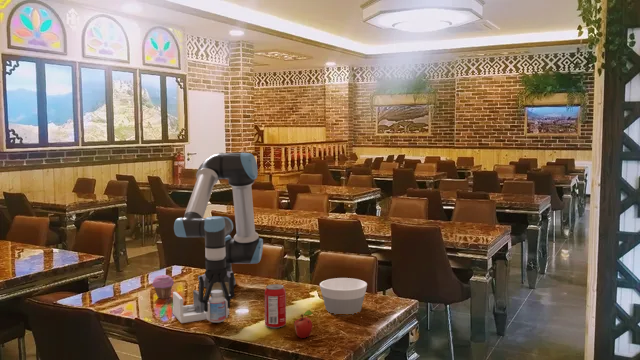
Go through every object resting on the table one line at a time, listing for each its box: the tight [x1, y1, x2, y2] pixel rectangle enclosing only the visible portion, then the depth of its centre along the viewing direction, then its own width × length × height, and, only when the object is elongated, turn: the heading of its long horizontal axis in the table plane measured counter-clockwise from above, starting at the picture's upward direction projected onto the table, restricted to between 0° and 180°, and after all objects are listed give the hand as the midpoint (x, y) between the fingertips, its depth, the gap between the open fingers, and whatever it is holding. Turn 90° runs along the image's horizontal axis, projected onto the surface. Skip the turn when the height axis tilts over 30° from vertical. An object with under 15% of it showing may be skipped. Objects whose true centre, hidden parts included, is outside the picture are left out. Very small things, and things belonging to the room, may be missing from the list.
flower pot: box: [211, 282, 230, 299], centre depth 246 cm, size 10×10×7 cm
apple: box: [293, 310, 313, 339], centre depth 201 cm, size 8×7×10 cm
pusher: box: [187, 289, 204, 313], centre depth 227 cm, size 5×10×8 cm, turn 28°
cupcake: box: [152, 274, 175, 299], centre depth 253 cm, size 9×9×10 cm
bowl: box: [319, 277, 368, 315], centre depth 233 cm, size 19×19×11 cm
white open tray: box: [172, 291, 230, 324], centre depth 228 cm, size 19×13×9 cm
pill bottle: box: [208, 290, 226, 324], centre depth 218 cm, size 6×6×11 cm
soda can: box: [263, 284, 287, 329], centre depth 213 cm, size 8×8×15 cm
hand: (217, 317), depth 218 cm, fingers closed on pill bottle, 6 cm apart
